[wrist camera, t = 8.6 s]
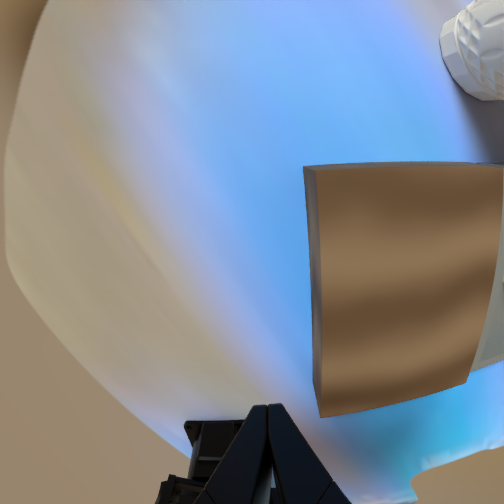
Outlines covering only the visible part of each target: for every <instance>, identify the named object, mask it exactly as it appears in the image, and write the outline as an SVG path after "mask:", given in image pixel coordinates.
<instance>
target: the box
mask: <svg viewBox="0 0 504 504" xmlns="http://www.w3.org/2000/svg"><path fill="white" fill-rule="evenodd" d="M477 164H481V165H487V166H493V167H498V168H503V206H502V221H501V232H500V242H499V250H498V257H497V264H496V270H495V276H494V282H493V287H492V292H491V297H490V302H489V306H488V311H487V315H486V319H485V323H484V327H483V331H482V334H481V338H480V341H479V345H478V348H477V351H476V355H475V358H474V361H473V364H472V367H471V370H470V372H472V371H475V370H478V369H480V368H483V367H486V366H488V365H491V364H494V363H496V362H499V361H501V360H504V282H503V277H504V164H492V163H477Z"/></svg>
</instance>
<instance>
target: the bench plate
mask: <svg viewBox="0 0 504 504" xmlns="http://www.w3.org/2000/svg"><path fill="white" fill-rule="evenodd" d="M303 173H304V185H305V197H306V210H307V224H308V240H309V258H310V278H311V304H312V347H313V385H314V390H315V395H316V399H317V404H318V409H319V414H320V418H325V417H331V416H338V415H343V414H349V413H355V412H360V411H365V410H370V409H375V408H379V407H384V406H388V405H392V404H396V403H401V402H404V401H408V400H412V399H416V398H419V397H423V396H426V395H430V394H433V393H437V392H440V391H443V390H446V389H449V388H452V387H455V386H458V385H461V384H464V383H466V381H467V378H468V376H469V373H470V370H471V367H472V364H473V361H474V358H475V355H476V351H477V348H478V345H479V341H480V338H481V334H482V331H483V327H484V323H485V319H486V315H487V311H488V306H489V302H490V297H491V292H492V287H493V282H494V276H495V270H496V264H497V257H498V250H499V242H500V232H501V221H502V206H503V168H498V167H493V166H487V165H481V164H475V163H468V162H370V163H347V164H329V165H314V166H303Z"/></svg>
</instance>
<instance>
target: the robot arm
mask: <svg viewBox="0 0 504 504" xmlns="http://www.w3.org/2000/svg"><path fill="white" fill-rule="evenodd" d="M184 428H185V431H186V433H187V436H188V438H189V440H190V443H191V445H192V447H193V451H192V456H191V462H190V467H189V472H188V478H187V479H186V478H181V477H176V475H171V474H169V477H168V480H167V481H164V482H161V486H160V490H159V494H158V498H157V500H156V502H155V504H352V503H351V502H350V501H349V500H348V498H347V497H346V496H345V495H344V493H343V492H342V491H341V490H340V488H339V487H338V485H337V484H336V483H335V482H334V481H333V479H332V477H331V476H330V474H329V473H328V472H327V470H326V469H325V467H324V466H323V464H322V463H321V462H320V460H319V459H318V457H317V456H316V454H315V453H314V451H313V450H312V448H311V447H310V446H309V444H308V443H307V441H306V440H305V438H304V437H303V435H302V434H301V432H300V431H299V429H298V428H297V426H296V425H295V423H294V422H293V420H292V419H291V417H290V415H289V414H288V412H287V411H286V409H285V408H284V406H283V405H282V404H281V403H277V404H269V405H268V407H267V405H254V406H253V407H252V408H251V410H250V412H249V414H248V415H247V417H246V419H245V420H229V421H186V422H185V423H184ZM272 467H273V474H274V479H275V484H276V488H271V478H272Z"/></svg>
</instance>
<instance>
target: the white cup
mask: <svg viewBox="0 0 504 504" xmlns="http://www.w3.org/2000/svg"><path fill="white" fill-rule="evenodd" d="M439 41H440V46H441V52H442V57H443V60H444V62H445V64H446V65H447V67H448V69H449V71H450V73H451V75H452V77H453V78H454V80H455V81H456V82H457V83H458V84H459V85H460V86H461V87H462V88H463V90H464V91H465V92H466V93H468V94H470V95H472V96H474V97H475V98H477V99H479V100H481V101H489V100H503V101H504V0H474V1H473V2H472V3H470V4H469V5H467V6H466V7H465V8H464V9H463V11H461V12H460V13H459V14H457V15H456V16H454V17H453V18H451V19H450V20H448V21H447V22H445V23H444V24H443V27H442V30H441V34H440V38H439Z"/></svg>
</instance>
